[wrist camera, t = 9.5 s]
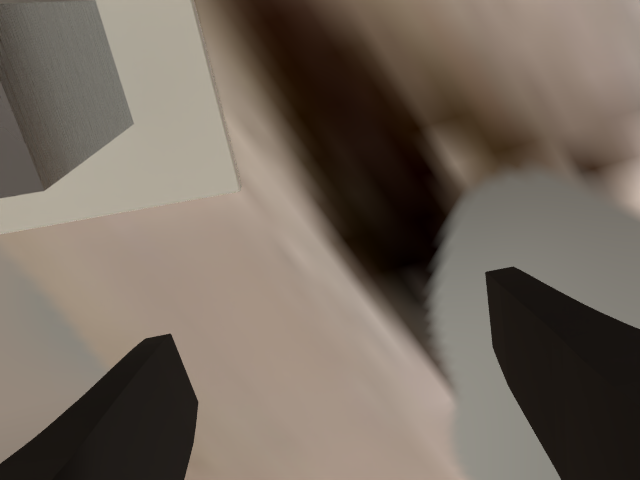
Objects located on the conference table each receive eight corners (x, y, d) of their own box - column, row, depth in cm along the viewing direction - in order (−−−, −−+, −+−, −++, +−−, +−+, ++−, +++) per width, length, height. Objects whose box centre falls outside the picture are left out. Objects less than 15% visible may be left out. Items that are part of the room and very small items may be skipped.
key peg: (95, 0, 17) (-31, 4, 11) (134, 124, 19) (44, 191, 12) (-25, 22, 17) (-217, 40, 11) (24, 143, 19) (-119, 218, 13)
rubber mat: (163, -122, 16) (157, -126, 16) (241, 186, 20) (239, 191, 20) (-145, -56, 17) (-161, -58, 16) (-9, 231, 21) (-17, 237, 21)
